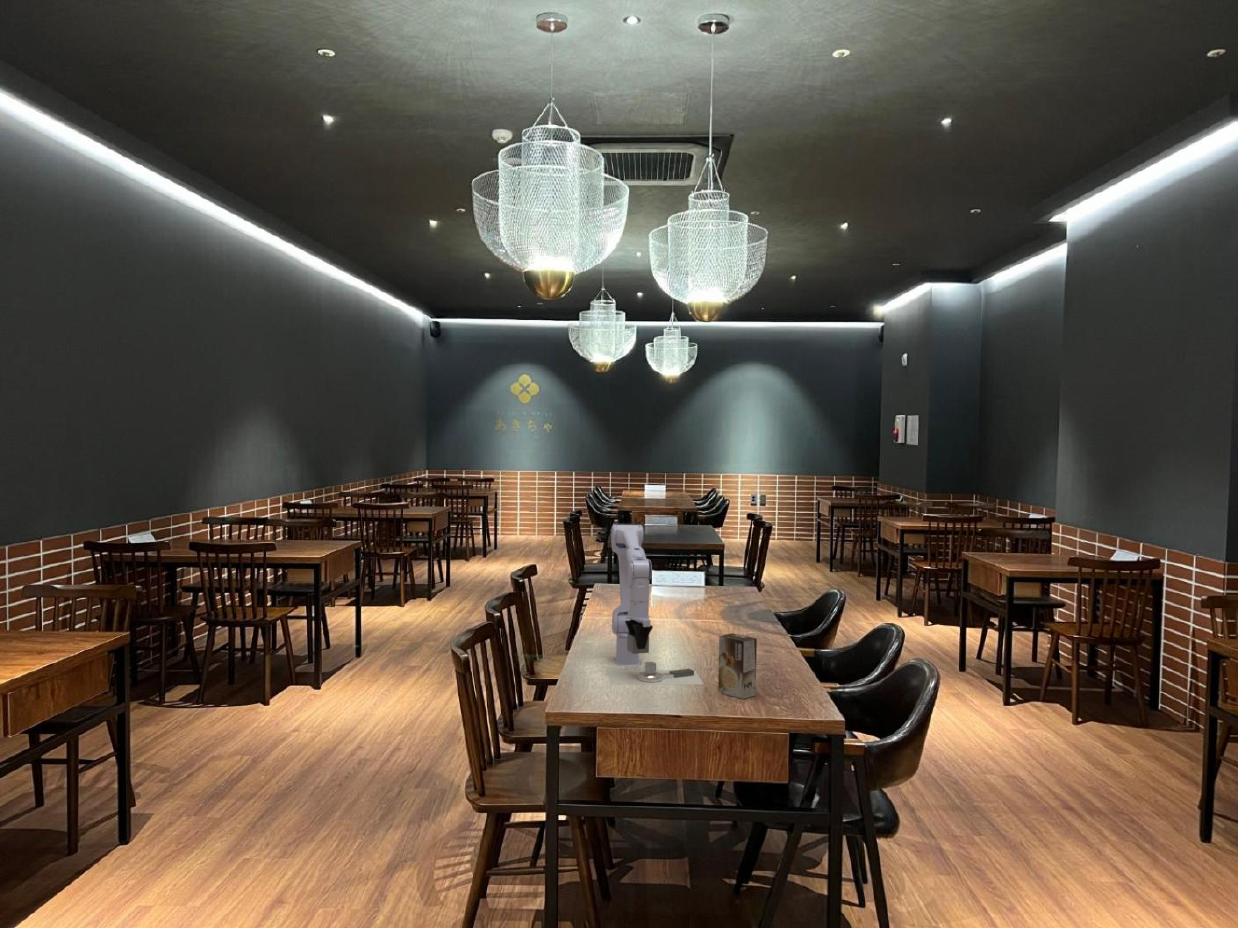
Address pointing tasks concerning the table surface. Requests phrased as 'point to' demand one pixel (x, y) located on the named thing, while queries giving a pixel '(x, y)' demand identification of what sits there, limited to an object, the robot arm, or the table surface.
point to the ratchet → (653, 676)
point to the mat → (632, 678)
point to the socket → (635, 644)
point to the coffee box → (737, 665)
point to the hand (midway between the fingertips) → (638, 646)
